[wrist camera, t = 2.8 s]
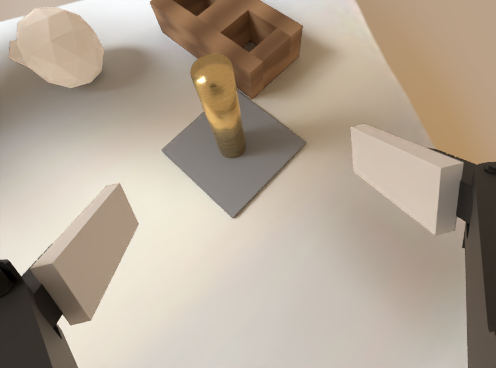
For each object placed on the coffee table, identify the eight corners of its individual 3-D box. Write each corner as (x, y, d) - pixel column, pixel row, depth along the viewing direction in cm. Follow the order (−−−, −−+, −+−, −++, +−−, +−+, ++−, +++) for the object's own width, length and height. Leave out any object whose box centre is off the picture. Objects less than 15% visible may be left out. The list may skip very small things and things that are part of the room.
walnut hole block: (162, 32, 39) (149, 1, 35) (207, -3, 41) (199, -36, 37) (252, 99, 34) (249, 73, 30) (298, 56, 36) (302, 25, 32)
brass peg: (213, 147, 32) (181, 72, 20) (232, 129, 32) (212, 47, 21) (232, 163, 31) (210, 95, 19) (251, 145, 31) (241, 67, 20)
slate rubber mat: (162, 151, 32) (161, 150, 32) (232, 88, 35) (232, 86, 34) (232, 218, 29) (232, 217, 28) (305, 143, 31) (305, 142, 31)
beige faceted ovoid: (122, 33, 37) (52, 40, 40) (63, -19, 28) (-23, -5, 31) (118, 95, 37) (47, 98, 39) (56, 63, 28) (-29, 70, 31)
